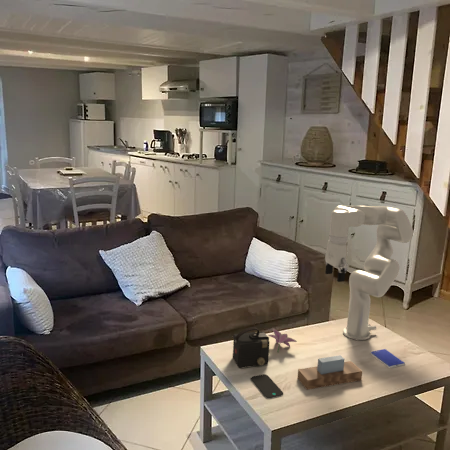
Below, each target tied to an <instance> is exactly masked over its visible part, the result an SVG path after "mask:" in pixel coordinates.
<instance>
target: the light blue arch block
mask: <svg viewBox="0 0 450 450" xmlns="http://www.w3.org/2000/svg"><path fill="white" fill-rule="evenodd" d="M345 361H346V360H345V358H344V357H343V356H342V355H341V354H338V355H333V356H327V357H321V358H320V357H319V358H317V366H316V367H317V371H318V372H319V373H320V374H321V375H322V374H327V373H331V372H340V371H343V370H344V362H345Z"/></svg>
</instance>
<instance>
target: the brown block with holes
mask: <svg viewBox="0 0 450 450" xmlns="http://www.w3.org/2000/svg"><path fill="white" fill-rule="evenodd" d="M362 378H363V370H362V369H361V368H359V366H357V365H356V364H355V363H354V362H352V360H348V361H344V370H343V371H340V372H331V373H327V374H322V375H321V374H320V373H319V372H318V371H317V366H311V367H305V368H299V369H297V380H298V381H299V382H300V383H301V385H302V386H303V387H304V389H306V390H312V389H313V390H314V389H319V388H324V387H331V386H336V385H337V386H338V385H341V384H342V385H343V384H348V383H354V382H358V381H362Z"/></svg>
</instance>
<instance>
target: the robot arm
mask: <svg viewBox="0 0 450 450" xmlns="http://www.w3.org/2000/svg"><path fill="white" fill-rule="evenodd" d="M329 224H330V225H329V237H328V241H327V243H326V244H327V245H326V251H325V253H324V257H325V258H324V261H325V271H324V272H325V274H326V275H333V272H334V271H333V268H337V270H338V271H337V279H336V281H337V282H338V283H341V282H342V283H343V282H345V280H346V279H345V278H346V273H347V271H348V269H349V266H350V265H349V264H348V262H347V260H348V258H347V256H348V247H347V246H348V245H347V244H348V236H349V228H351V227H352V228H357V227H360V226H362V225H364V226H376V225H377V227H376V244H375V246H374V248H373V249H372V251H371V252H370V253H369V255H368V256H367V258H366V259H365V260H364V263H363V268H364V269H363V270H361V269H357V270H356V269H355V270H354V271H352V272H351V273H350V275H349V279H348V283H349V284H348V285H349V302H348V311H347V313H348V314H347V321H346V323H347V324H346V327H344V328H343V329H342V334H343V335H344V336H345V337H346V338H348V339H351V340H356V341H365V340H369V339H370V338H371V331H375V330H377V326H376V325H371V324H369V319H370V311H371V301H372V300H371V297H370V296H372V297H375V298H381V297H383V296H384V295H385V294H386V293H387V291H389V289H390V288H391V286H392V284H393V283H394V281H395V280H396V279H397V277H398V275H399V272H400V263H399V262H398V261H397V260H396V259H394V258H392V256H393V254H394V250H393V245H392V244H391V241H394V242H398V243H402V244H407V243H409V242H410V241H411V240H412V239H413V237H414V229H413V226H412V224H411V221H410V220H409V217H408V215H407V213H406V212H405V211H404V210H403V209H401V208H398V207H393V206H392V207H391V206H387V205H377V206H376V205H375V206H372V205H369V206H368V205H351V204H349V205H347V204H345V205H337V206H335V207H334V208H333V210H332V211H331V213H330V223H329Z"/></svg>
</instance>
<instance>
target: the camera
mask: <svg viewBox="0 0 450 450" xmlns="http://www.w3.org/2000/svg"><path fill="white" fill-rule="evenodd" d="M251 331H252V332H251ZM232 339H233V346H232V359H233V360H234V362H235V364H236V365H237V367H238V369H242V368H251V367H258V366H265V365H268V364H269V357H270V355H269V354H270V336H268V335H267V334H266V332H265V331H260V330H259V329H258V328H257V327H255V326H251V327H247V328H244V329H243V330H241V331H240V332H239V333H234V334H233V338H232Z"/></svg>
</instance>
